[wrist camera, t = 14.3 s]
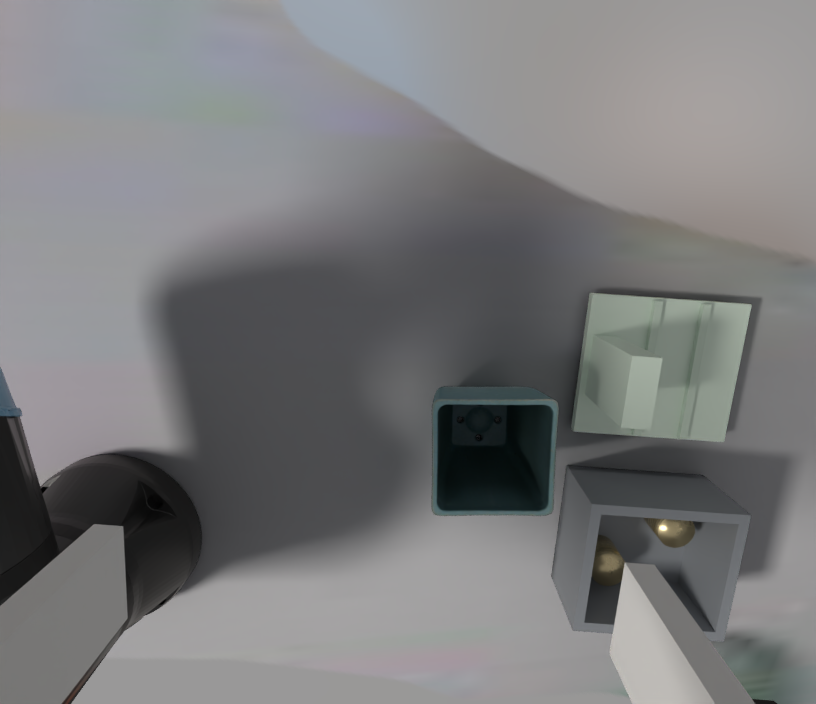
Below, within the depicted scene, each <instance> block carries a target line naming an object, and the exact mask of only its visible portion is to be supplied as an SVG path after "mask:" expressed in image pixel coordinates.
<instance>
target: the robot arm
mask: <svg viewBox="0 0 816 704" xmlns="http://www.w3.org/2000/svg"><path fill="white" fill-rule="evenodd" d="M20 416H22V412H21V410H20V409H19V408H17V407H16V406H15V403H14V401H13V398H12V396H11V393H10V391H9V388H8V386H7V383H6V380H5V377H4V375H3V372H2V369H1V367H0V704H71V703H72V701H73V700H74V699H75V697H76V696H77V694H78V693H79V692H80V690H81V689H82V688H83V686H84V685H85V683H86V682H87V681H88V679H89V678H90V676H91V675H92V674H93V672H94V671H95V670H96V668H97V667H98V665H99V664H100V663H101V661H102V660H103V659H104V657H105V656H106V655H107V653H108V652H109V650H110V649H111V648H112V646H113V645H114V644H115V642H116V641H117V640H118V638H119V637H120V636H121V635H122V633H123V632H124V631H125V630H127V629H128V628H130V627H131V626H133V625H134V624H135V623H137V622H138V621H139V620H140V619H142V618H143V616H145V615H147V614H150V613H152V612H154V611H155V610H157V609H159V608H160V607H162V606H163V605H164V604H166V603H167V602H168V601H169V600H171V599H172V598H173V597H174V596H175V595H176V594H177V592H178V591H179V590H180V589H181V587H182V586H183V584H184V583H185V582H186V580H187V579H188V577H189V576H190V574H191V573H192V571H193V569H194V568H195V566H196V563H197V561H198V558H199V554H200V550H201V527H200V522H199V519H198V515H197V513H196V510H195V508H194V506H193V504H192V502H191V500H190V499H189V497H188V496H187V494H186V493H185V492H184V490H183V489H182V488H181V487H180V486H179V484H178V483H177V482H175V481H174V480H173V479H172V478H171V477H170V476H169V475H167V474H166V473H165V472H163V471H162V470H160V469H159V468H157V467H155V466H153V465H151V464H149V463H147V462H144V461H142V460H139V459H136V458H132V457H128V456H122V455H98V456H92V457H88V458H85V459H82V460H79V461H77V462H75V463H73V464H71V465H69V466H68V467H66V468H65V469H63V470H61V471H60V472H58V473H57V474H55V475H54V476H52V477H51V478H50V479H48V480H47V481H46V482H45V483H44V484H43V485H42V486H41V487H40V485H39V481H38V478H37V475H36V471H35V468H34V464H33V461H32V457H31V454H30V450H29V447H28V443H27V440H26V437H25V433H24V430H23V426H22V423H21V419H20ZM609 654H610V656H611V658H612V660H613V662H614V665H615V667H616V669H617V671H618V673H619V675H620V678H621V680H622V682H623V684H624V686H625V688H626V691H627V693H628V695H629V697H630V699H631V701H632V703H633V704H777V703H776V702H774V701H769V700H756V699H751V697H750V696H749V694H748V693H747V692H746V690H745V689H744V687H743V686H742V685H741V683H740V682H739V681H738V679H737V678H736V676H735V675H734V674H733V672H732V671H731V670H730V668H729V667H728V665H727V664H726V663H725V661H724V660H723V659H722V657H721V656H720V654H719V653H718V652H717V650H716V649H715V648H714V646H713V645H712V643H711V642H710V641H709V639H708V638H707V637H706V635H705V634H704V632H703V631H702V630H701V628H700V627H699V626H698V624H697V623H696V621H695V620H694V619H693V617H692V616H691V614H690V613H689V612H688V610H687V609H686V608H685V606H684V605H683V603H682V602H681V601H680V599H679V598H678V597H677V595H676V594H675V592H674V591H673V590H672V588H671V587H670V586H669V584H668V583H667V581H666V580H665V579H664V577H663V576H662V575H661V573H660V572H659V570H658V569H657V568H656V566H655V565H653V564H639V563H625V564H624V570H623V576H622V582H621V588H620V594H619V600H618V606H617V612H616V617H615V623H614V629H613V635H612V641H611V647H610V653H609Z"/></svg>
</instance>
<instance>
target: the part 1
mask: <svg viewBox="0 0 816 704" xmlns="http://www.w3.org/2000/svg"><path fill="white" fill-rule="evenodd" d="M624 564H625V561H624V560H623V558H622V556H621V555H620V553H619V552H618V550H617V549H616V547H615V545H614V544H613V542H612V541H611V540H610V539H609V538H608V537H606V536H604V535H598V537H597V544H596V550H595V557H594V563H593V569H592V577H593V579H594V580H595V581H596V582H597V583H598V584H600V585H603V586H612V585H616V584H618V583H619V582H621V581H622V576H623V570H624Z"/></svg>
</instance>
